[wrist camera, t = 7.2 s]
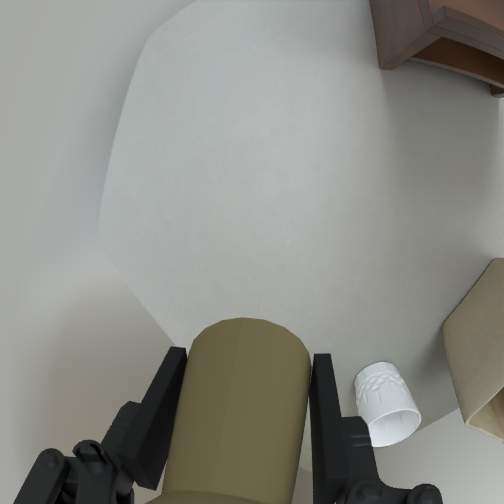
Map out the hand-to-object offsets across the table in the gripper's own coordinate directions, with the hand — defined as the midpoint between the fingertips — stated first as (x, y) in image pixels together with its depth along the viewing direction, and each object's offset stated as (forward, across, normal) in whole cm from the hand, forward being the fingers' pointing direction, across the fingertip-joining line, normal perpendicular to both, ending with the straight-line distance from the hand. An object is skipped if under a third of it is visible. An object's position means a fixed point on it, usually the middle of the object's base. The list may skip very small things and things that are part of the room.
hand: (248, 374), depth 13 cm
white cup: (+20, +16, -20) cm, 33 cm away
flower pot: (+20, +33, -10) cm, 40 cm away
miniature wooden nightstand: (+21, +21, +27) cm, 40 cm away
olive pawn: (0, 0, 0) cm, 1 cm away
